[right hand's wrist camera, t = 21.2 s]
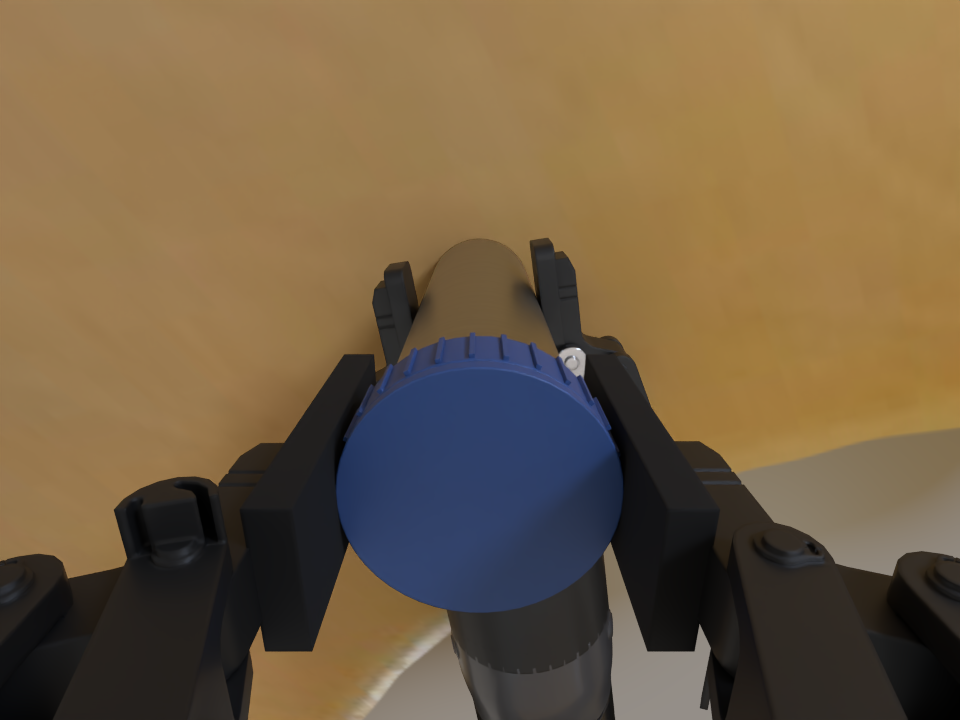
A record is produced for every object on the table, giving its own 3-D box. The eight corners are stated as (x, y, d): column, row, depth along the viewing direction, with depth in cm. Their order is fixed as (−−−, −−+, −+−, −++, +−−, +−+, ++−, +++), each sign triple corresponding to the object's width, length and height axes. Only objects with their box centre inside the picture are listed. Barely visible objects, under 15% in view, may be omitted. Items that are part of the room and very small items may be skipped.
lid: (659, 444, 12) (690, 492, 10) (487, 593, 13) (488, 658, 12) (469, 274, 11) (467, 297, 9) (301, 460, 12) (272, 510, 10)
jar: (462, 219, 26) (433, 323, 10) (547, 270, 27) (646, 442, 11) (414, 304, 27) (321, 514, 11) (496, 350, 28) (517, 606, 12)
